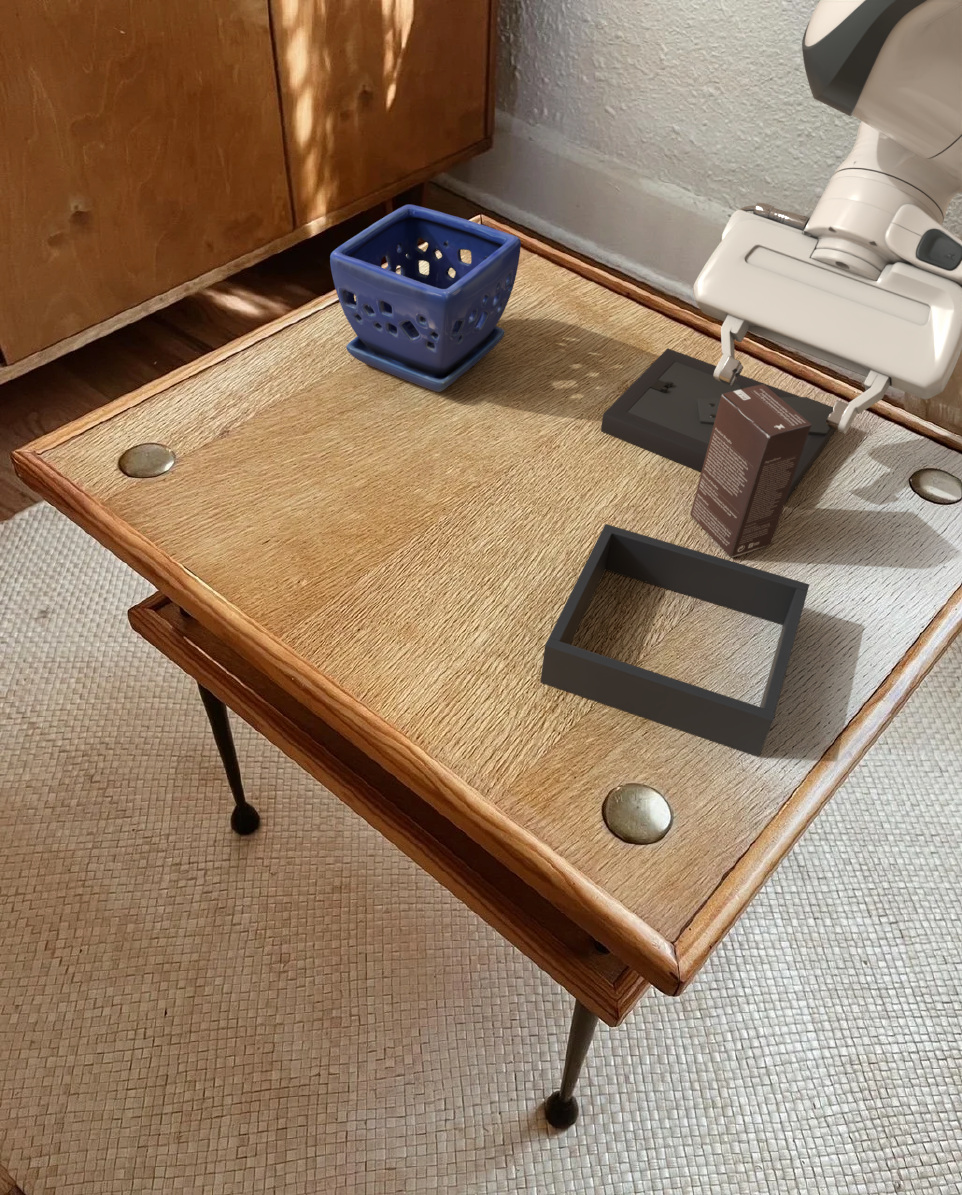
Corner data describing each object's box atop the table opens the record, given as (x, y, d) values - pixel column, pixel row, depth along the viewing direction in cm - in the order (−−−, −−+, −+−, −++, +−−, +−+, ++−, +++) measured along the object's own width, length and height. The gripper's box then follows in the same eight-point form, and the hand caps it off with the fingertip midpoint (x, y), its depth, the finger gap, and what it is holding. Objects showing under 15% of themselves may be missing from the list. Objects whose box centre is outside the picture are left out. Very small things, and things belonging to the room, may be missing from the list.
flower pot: (330, 367, 98) (321, 251, 90) (409, 309, 107) (407, 197, 98) (446, 414, 94) (448, 296, 85) (519, 349, 102) (528, 236, 93)
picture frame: (837, 429, 95) (664, 364, 101) (844, 409, 93) (668, 345, 99) (784, 506, 87) (599, 431, 93) (791, 486, 85) (602, 410, 92)
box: (774, 544, 83) (815, 423, 75) (729, 560, 82) (765, 438, 73) (730, 500, 87) (764, 380, 78) (686, 514, 86) (716, 393, 77)
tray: (795, 621, 78) (809, 583, 75) (758, 757, 69) (773, 720, 66) (599, 561, 81) (605, 523, 78) (539, 682, 72) (544, 645, 69)
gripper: (735, 177, 78) (649, 342, 80) (1003, 264, 70) (903, 447, 72) (748, 213, 84) (668, 367, 85) (997, 298, 76) (905, 466, 77)
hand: (777, 404), depth 78 cm, fingers open, 8 cm apart
